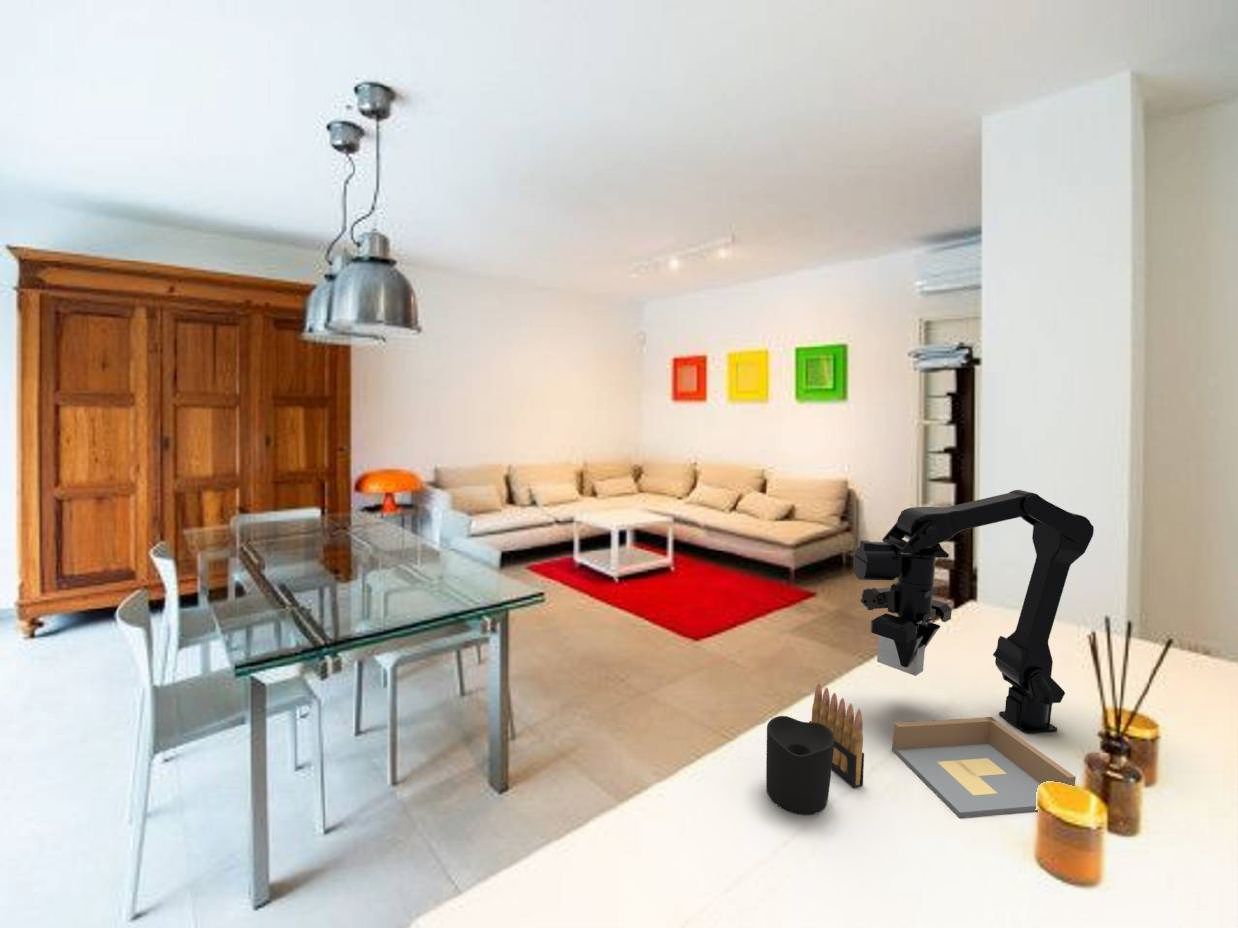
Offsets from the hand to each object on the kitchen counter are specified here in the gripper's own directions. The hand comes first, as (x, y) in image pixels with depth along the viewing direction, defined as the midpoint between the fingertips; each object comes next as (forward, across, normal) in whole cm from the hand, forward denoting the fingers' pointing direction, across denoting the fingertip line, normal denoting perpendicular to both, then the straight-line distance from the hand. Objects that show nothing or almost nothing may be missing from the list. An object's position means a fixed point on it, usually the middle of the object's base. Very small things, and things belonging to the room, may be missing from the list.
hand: (908, 663), depth 106 cm
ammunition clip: (+11, +22, -1) cm, 25 cm away
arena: (+11, +7, +14) cm, 20 cm away
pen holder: (+11, +33, 0) cm, 35 cm away
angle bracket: (+1, -2, -2) cm, 3 cm away
